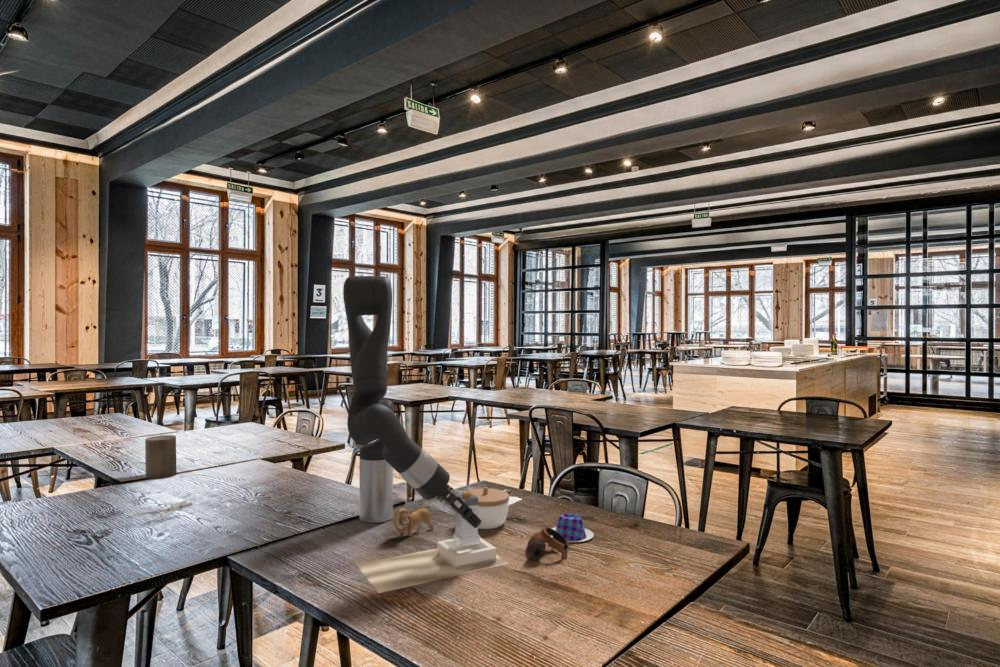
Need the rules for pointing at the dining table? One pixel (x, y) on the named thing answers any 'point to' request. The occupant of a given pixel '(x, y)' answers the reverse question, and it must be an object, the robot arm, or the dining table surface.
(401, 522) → the lion figurine
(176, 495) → the dining table surface
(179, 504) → the pliers
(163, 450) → the pillar candle
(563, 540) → the pottery mug
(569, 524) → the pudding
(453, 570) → the board
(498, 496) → the lidded bowl
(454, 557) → the box
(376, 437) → the robot arm
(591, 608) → the dining table surface
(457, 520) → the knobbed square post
